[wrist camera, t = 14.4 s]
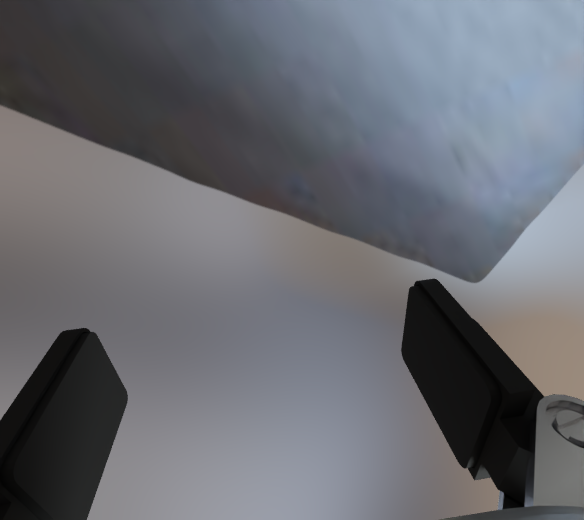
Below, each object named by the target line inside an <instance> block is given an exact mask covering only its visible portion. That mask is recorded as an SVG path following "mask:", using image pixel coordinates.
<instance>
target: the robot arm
mask: <svg viewBox="0 0 584 520" xmlns="http://www.w3.org/2000/svg"><path fill="white" fill-rule="evenodd" d="M401 351H402V356H403V360H404V361H405V364H406V365H407V367H408V369H409V371H410V373H411V375H412V377H413V379H414V380H415V382H416V384H417V386H418V388H419V390H420V392H421V393H422V395H423V397H424V399H425V401H426V403H427V404H428V407H429V408H430V410H431V412H432V414H433V416H434V418H435V420H436V421H437V423H438V425H439V427H440V429H441V431H442V433H443V434H444V436H445V438H446V440H447V442H448V444H449V446H450V448H451V449H452V451H453V453H454V455H455V457H456V459H457V460H458V462H459V464H460V465H461V466H462V467H463V468H468V470H469V471H470V473H471V475H472V476H473V479H474V480H479V479H485V478H490V477H491V479H492V480H493V482H494V484H495V485H496V487H497V489H498V490H500V493H499V502H498V510H496V511H490V512H484V513H477V514H471V515H466V516H459V517H452V518H446V519H440V520H584V401H582V400H580V399H578V398H575V397H571V396H567V395H555V394H553V395H549V396H546V397H544V396H543V395H542V394H541V392H540V391H539V390H538V389H537V388H536V387H535V386H534V385H533V383H532V382H531V381H530V380H529V379H528V378H527V377H526V376H525V375H524V374H523V372H522V371H521V370H520V369H519V368H518V367H517V366H516V365H515V364H514V362H513V361H512V360H511V359H510V358H509V357H508V356H507V355H506V353H505V352H504V351H503V350H502V349H501V348H500V347H499V346H498V345H497V344H496V342H495V341H494V340H493V339H492V338H491V337H490V336H489V335H488V333H487V332H486V331H485V330H484V329H483V328H482V327H481V326H480V325H479V324H478V323H477V322H476V321H475V320H474V319H472V318H471V317H470V316H469V315H468V314H467V312H466V311H465V310H464V309H463V308H462V307H461V306H460V304H459V303H458V302H457V301H456V300H455V299H454V298H453V297H452V296H451V294H450V293H449V292H448V291H447V290H446V289H445V288H444V286H443V285H442V284H441V283H440V282H439V281H438V280H437V279H429V280H422V281H416V282H415V284H414V286H413V287H410V289H409V294H408V302H407V309H406V318H405V325H404V333H403V341H402V349H401ZM127 400H128V395H127V391H126V389H125V387H124V385H123V384H122V382H121V380H120V378H119V376H118V374H117V372H116V370H115V368H114V367H113V365H112V363H111V361H110V359H109V357H108V355H107V354H106V351H105V349H104V348H103V346H102V344H101V342H100V340H99V338H98V336H97V335H96V333H94V332H90V331H89V330H88V329H87V328H81V329H74V330H66V331H63V332H62V333H60V335H59V336H58V337H57V339H56V340H55V342H54V343H53V344H52V346H51V347H50V349H49V350H48V352H47V353H46V355H45V356H44V358H43V359H42V361H41V362H40V364H39V365H38V366H37V368H36V369H35V371H34V372H33V374H32V375H31V377H30V378H29V380H28V381H27V382H26V384H25V385H24V387H23V388H22V390H21V391H20V393H19V394H18V395H17V397H16V399H15V400H14V402H13V403H12V404H11V406H10V407H9V409H8V410H7V412H6V413H5V414H4V416H3V417H2V419H1V420H0V520H87V517H88V514H89V511H90V509H91V505H92V503H93V500H94V497H95V494H96V491H97V488H98V485H99V483H100V480H101V477H102V474H103V471H104V468H105V465H106V462H107V460H108V457H109V454H110V451H111V448H112V445H113V442H114V439H115V437H116V434H117V431H118V428H119V425H120V422H121V419H122V416H123V413H124V411H125V408H126V404H127Z"/></svg>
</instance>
